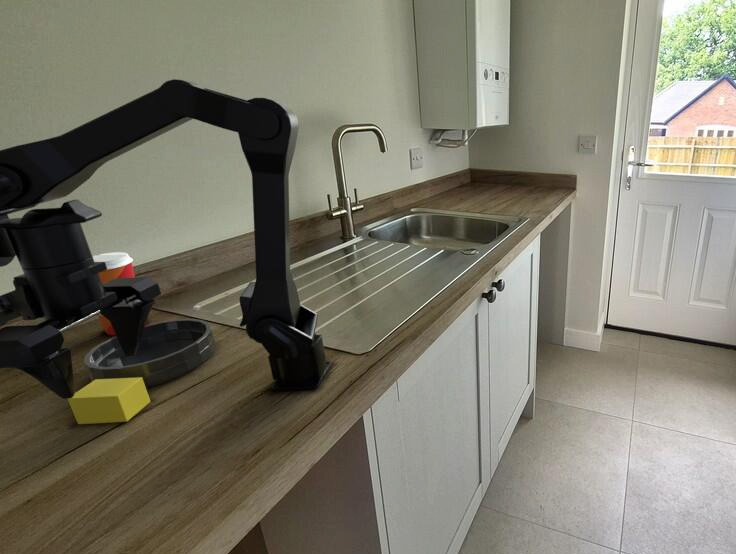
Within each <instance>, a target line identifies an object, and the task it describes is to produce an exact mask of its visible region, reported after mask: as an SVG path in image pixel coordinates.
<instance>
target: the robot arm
mask: <svg viewBox="0 0 736 554" xmlns="http://www.w3.org/2000/svg"><path fill="white" fill-rule="evenodd" d="M191 120H195V121H199V122H202V123H204V124H208V125H211V126H214V127H216V128H220V129H223V130H227V131H229V132H230V131H231V132H234V133H237V134H238V138H239V142H240V147H241V150H242V152H243V155H244V158H245V161H246V163H247V165H248V167H249V170H250V174H251V180H252V181H251V183H252V184H251V185H252V187H251V188H252V204H253V205H252V209H253V211H252V212H253V236H254V237H253V238H254V257H255V258H254V259H255V281H250V282H249V283H248V285H247V286H246V287H245V289H244V290H243V292H242V293H241V295H240V296H239V305H240V309H241V314H242V318H241V321H240V323H239V327H245V331H246V335H247V336H248V337H249V339H250V340H253V341H255V342H256V343H258V344H261V345H262V346H263V348H264V350H265V351H266V352H267V353H268V356H267V359H268V363H269V367H270V373H271V375H272V380H273V381H274V383H273V384H272V385H271V387H270V388H271V389H270V390H271V391H272V392H281V391H303V390H316V389H318V388H319V387H320V385H321V383H322V382H323V380H324V378H325V376H326V375H327V373H328V372H329V370H330V368H331V367H332V361H330V360H328V361H327V357H326V354H325V353H326V352H325V347H324V341H323V336H322V334H316V328H317V325H318V319H319V314H318V313H317V312H315V311H314V310H312V309H310V308H308V307H307V306H305V305H304V304H302V303H301V301H300V298H299V293H298V288H297V286H296V283H295V281H294V277H293V275H292V273H291V272H292V271H291V242H290V241H291V238H290V236H291V234H290V183H289V182H290V181H289V180H290V179H289V178H290V176H289V174H290V171H291V167H292V163H293V159H294V155H295V150H296V145H297V140H298V134H299V129H300V126H299V119H298V116H297V115H296V113H295V112H294V111H293V110H292V109H291V107H289V106H288V105H287V104H285V103H283V102H282V101H278V100H275V99H271V98H267V97H253V98H250V99H243V98H240V97H237V96H233V95H230V94H226V93H224V92H223V93H222V92H219V91H216V90H213V89H209V88H206V87H203V86H202V85H201V84H198V83H195V82H193V81H187V80H184V79H176V78H175V79H169V80H166V81H165V82H163V83H162V84H161V86H159V87H158V88H156V89H154V90H151V91H149V92H147V93H146V94H143V95H141V96H139V97H136V98H135V99H133V100H131V101H129V102H127V103H125V104H123V105H121V106H119V107H117V108H114V109H112V110H110V111H108V112H106V113H104V114H102V115H100V116H98V117H95V118H93V119H91V120H90V121H87V122H86V123H83V124H81V125H79V126H77V127H75V128H73V129H71V130H69V131H67V132H64V133H63V134H61V135H57V136H53V137H49V138H46V139H41V140H36V141H32V142H28V143H27V142H26V143H23V144H19V145H15V146H11V147H8V148H3V149H0V268H1V267H5V266H8V265H9V264H11V262H13V260H14V259H15V257H16V258H17V260H18V263H19V265H20V268H21V270H22V272H23V273H22V274H19V275H17V276H14V277H13V280H12V284H13V286H14V290H12V291H9V292H6V293H3V294H1V295H0V327H1V328H0V369H11V368H13V369H16V370H19V371H21V372H23V373H25V374H27V375H29V376H31V377H32V378H33V379H35V380H37V381H38V382H39V383H40V384H41V385H43V386H44V387H46V388H47V389H49V390H50V391H51V392H53V393H54V394H55V395H57V396H58V397H59V398H61V399H64V400H65V399H67V400H68V398H72V397H73V396H74V394H75V387H76V386H75V378H74V370H73V361H72V353H71V352H72V351H71V348H70V347H63V348H62V346H63V345H64V342H65V338H64V335H63V333H64V332H66V331H68V330H70V329H71V328H74V327H76V326H78V325H79V324H81V323H84V322H86V321H87V320H89V319H92V318H93V317H95V316H98V315H97V314H99V313H100V314H101V315H103V316H104V317H105V318H107V319H108V320H109V321H110V323H111V325H112V328H113V330H114V332H115V335H114V336H116V337H117V339H118V342H119V344H120V346H121V348H122V350H123V352H124V353H125V355H126V356H134V355H135V354H136V352H137V349H138V345H139V342H140V339H141V335H142V332H143V329H144V326H146V324H147V320H148V318H149V315H150V312H151V310H152V309H153V306H154V305H155V304H156V303H157V302H156V298H157V297H159V296H161V295H162V292H161V289H160V285H159V282H158V281H156V280H155V279H153V278H152V277H151V276H139V277H137V276H135V277H132V278H116V279H113V280H111V281H109V282H107V283H104V284H102V282H101V279H100V276H99V272H102V271H104V270H107V267H106V264H105V262H94V259H93V256H94V255H93V254H92V252H91V248H90V245H89V244H88V243H89V242H88V240H87V236H86V234H85V232H84V228H83V226H82V224H84V223H88V222H90V221H92V220H96V219H98V218H101V217H102V216H103V212H102V211H100V210H99V209H96V208H94V207H91V206H88V205H86V204H84V203H82V201H80V200H79V199H72V200H69V201H65V202H63V203H62V205H61V206H60V207H49V208H47V207H46V208H35V207H38V205H40V204H43V203H48V202H51V201H54V200H59V199H62V198H65V197H68V195H71V194H72V193H73V192H74V191H76V190H77V189H78V188H80V187H81V186H82V185H83V184H85V183H86V182H87V181H88V180H90V179H91V178H92V176H93V175H94V174H95V173H96V172H97V170H98V169H100V168H101V167H102V166H104V165H105V164H106V163H107V162H110V161H112V160H114V159H115V158H118V157H120V156H122V155H124V154H125V153H128V152H130V151H131V150H134V149H136V148H137V147H140V146H142V145H143V144H146V143H147V142H149V141H151V140H154V139H155V138H157V137H160V136H162V135H164V134H166V133H168V132H169V131H172V130H174V129H175V128H178V127H180V126H182V125H184V124H185V123H187V122H190V121H191ZM32 208H34V209H32ZM28 209H30V210H28ZM24 210H28V211H26V212H25V213H24V214H23V215H22V217H15V218H10V217H9V215H10V214H13V213H18V212H20V211H24ZM20 317H22V320H23V321H36V320H37V319H43V321H42V322H40V323H37V324H30V325H28V324H27V325H7V326H5V325H6V324H8V322H10V321H13V320H15V319H18V318H20ZM145 323H146V324H145ZM3 326H4V327H3Z"/></svg>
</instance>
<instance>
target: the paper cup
mask: <svg viewBox="0 0 736 554" xmlns="http://www.w3.org/2000/svg"><path fill="white" fill-rule="evenodd" d="M92 256H93V259H94V262H105V264H106V267H107V270H104V271H102V272H99V276H100V279H101V282H102V284H104V283H107V282H109V281H111V280H113V279H116V278H132V277H136V275H135V272H134V267H133V263H132V262H133V261H134V259H133V258H132V257H130V255H129V254H128V253H127V252H124V251H115V252H106V253H105V252H104V253H99V254H98V255H95V254H94V255H92ZM96 316H97V317H98V319H99V322H100V324H101V326H102V327H103V329H104V331H105V333H106V334H107V335H109V336H116V335H115V332H114V330H113V328H112V325H111V323H110V321H109V320H108V319H107V318H105V317H104V316H103V315H101V314H100V313H99V314H97V315H96ZM145 325H147V322H146V323H145Z"/></svg>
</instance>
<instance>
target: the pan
mask: <svg viewBox="0 0 736 554" xmlns="http://www.w3.org/2000/svg"><path fill="white" fill-rule="evenodd" d="M216 347H217V346H216V342H215V338H214V335H213V330H212V327H211V324H210V323H209V322H207V321H205V320H203V319H196V318H184V319H183V318H179V319H172V320H164V321H159V322H155V323H154V322H153V323H151V324H145V326H144V329H143V332H142V335H141V339H140V342H139V345H138V349H137V352H136V354H135V355H134V356H126V355H125V353H124V352H123V350H122V348H121V346H120V344H119V342H118V339H117V337H116V335H114V336H112V337H110V338H107V339H106V340H105V341H103V342H101V343H99V344H97V345H95V346H94V347H93V348H92V349H90V350H89V351H88V353H86V354H85V357H84V360H83V364H84V367H85V370H86V372H87V375H88V377H89V379H90V383H91V382H93V381H94V380H96V379H118V378H139V377H142V378H143V381H144V384H145V387H146V388H150V387H154V386H158V385H161V384H164V383H166V382H170V381H172V380H175V379H177V378H179V377H182V376H184V375H186V374H188V373H190V372H192V371H194V370H195V369H197V368H198V367H200V366H201V365H202V364H204V363H205V362H206V361H208V359H209V358H210V357H211V356H212V355H213V353H214V351H215V350H216Z"/></svg>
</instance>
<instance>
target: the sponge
mask: <svg viewBox="0 0 736 554" xmlns="http://www.w3.org/2000/svg"><path fill="white" fill-rule="evenodd" d="M67 402H68V404H69V406H70V408H71V410H72V413H73V415H74V418H75V420H76V423H77V424H78V425H89V424H90V425H91V424H92V425H93V424H108V423H111V424H112V423H125V422H129V421H130V420H131V419H132V418H133V417H134V416H136V415H137V414H138V413H139V412H140V411H141V410H143V409H144V408H145V407H146V406H147V405H149V404H150V403H151V399H150V396H149V393H148V390H147V387H145V384H144V381H143V378H142V377H139V378H118V379H96V380H94V381H93V382H91V381H90V383H88V384H87V385H85V386H83V387H82V388H81V389H79V390H78V391H76V392H74V396H73V397H72V398H68V399H67Z"/></svg>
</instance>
